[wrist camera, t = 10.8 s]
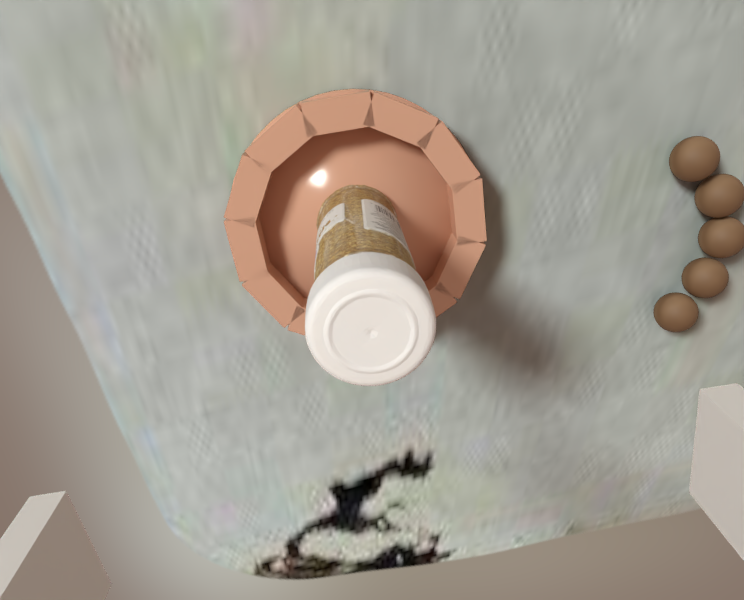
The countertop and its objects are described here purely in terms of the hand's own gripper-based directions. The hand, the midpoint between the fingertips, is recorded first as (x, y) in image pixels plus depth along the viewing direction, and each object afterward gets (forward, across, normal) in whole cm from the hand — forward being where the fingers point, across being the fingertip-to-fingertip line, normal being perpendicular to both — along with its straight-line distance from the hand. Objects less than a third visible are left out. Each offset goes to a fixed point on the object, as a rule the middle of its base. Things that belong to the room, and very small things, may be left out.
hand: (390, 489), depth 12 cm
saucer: (+22, 0, 0) cm, 22 cm away
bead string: (+22, +19, -4) cm, 29 cm away
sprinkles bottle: (+21, 0, 0) cm, 21 cm away
